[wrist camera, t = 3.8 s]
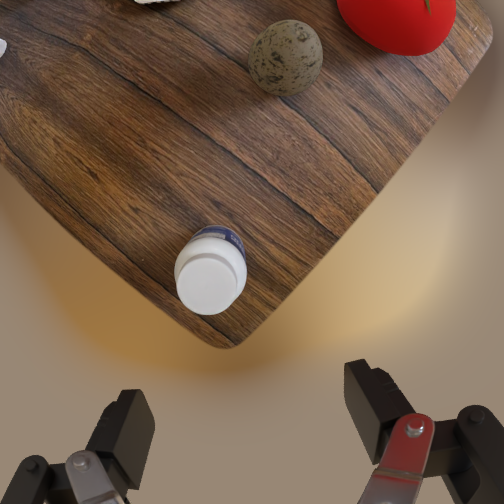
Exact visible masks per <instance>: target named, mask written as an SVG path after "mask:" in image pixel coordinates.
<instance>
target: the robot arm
mask: <svg viewBox="0 0 504 504" xmlns="http://www.w3.org/2000/svg"><path fill="white" fill-rule="evenodd" d="M344 397H345V403H346V406H347V408H348V410H349V413H350V415H351V417H352V419H353V422H354V424H355V426H356V428H357V431H358V433H359V435H360V437H361V439H362V442H363V444H364V446H365V448H366V451H367V453H368V455H369V457H370V460H371V462H372V464H373V465H375V464H378V463H379V466H378V467H377V469H375V470H374V471H373V473H372V475H371V477H370V479H369V482H368V484H367V486H366V488H365V490H364V492H363V494H362V496H361V498H360V500H359V501H358V503H357V504H415V502H416V499H417V496H418V493H419V490H420V487H421V484H422V480H423V478H427V477H434V476H441V477H442V479H443V481H444V483H445V485H446V487H447V489H448V491H449V493H450V495H451V497H452V499H453V501H454V503H455V504H504V427H503V426H502V425H501V423H500V422H499V421H498V420H497V418H496V417H495V416H494V415H493V413H492V412H491V411H490V410H489V409H488V408H486V407H484V406H480V405H471V406H467V407H465V408H464V409H462V410H461V411H460V412H459V414H458V417H457V419H452V420H445V421H437V422H436V421H433V420H432V419H431V418H430V417H428V416H426V415H424V414H419V413H416V412H415V410H414V409H413V407H412V406H411V405H410V403H409V402H408V401H407V399H406V398H405V396H404V395H403V393H402V392H401V390H399V388H398V386H397V385H396V383H394V381H393V379H392V378H391V377H390V375H389V374H388V373H387V372H385V371H384V370H382V369H380V368H375V369H371V368H370V367H369V365H368V364H367V362H366V361H365V359H360V360H356V361H351V362H348V363H345V366H344ZM154 431H155V422H154V417H153V415H152V412H151V410H150V408H149V406H148V403H147V401H146V399H145V396H144V394H143V392H142V391H141V390H140V389H131V390H122V391H121V393H120V395H119V397H118V399H117V401H113V402H112V403H111V404H109V405H108V406H107V407H106V408H105V409H104V411H103V413H102V415H101V417H100V420H99V421H98V423H97V426H96V428H95V429H94V431H93V433H92V436H91V438H90V440H89V442H88V444H87V446H86V448H85V450H81V451H77V452H75V453H73V454H72V455H71V456H70V457H69V458H68V459H67V461H66V463H61V464H50V465H49V464H48V462H47V461H46V460H45V459H44V458H43V457H42V456H39V455H32V456H29V457H27V458H25V459H24V460H23V461H22V462H21V463H20V465H19V467H18V469H17V471H16V472H15V475H14V477H13V478H12V480H11V482H10V484H9V486H8V488H7V490H6V492H5V494H4V496H3V499H2V501H1V503H0V504H43V503H44V502H45V503H46V504H132V503H131V501H130V500H129V498H128V497H127V495H126V494H127V490H128V489H134V490H139V486H140V483H141V478H142V475H143V471H144V467H145V463H146V460H147V456H148V452H149V449H150V445H151V441H152V438H153V434H154Z"/></svg>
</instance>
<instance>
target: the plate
mask: <svg viewBox="0 0 504 504" xmlns="http://www.w3.org/2000/svg"><path fill="white" fill-rule="evenodd" d="M134 1H135V2H137V3H139V4H151V3H160V2H171V1H180V0H134Z"/></svg>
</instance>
